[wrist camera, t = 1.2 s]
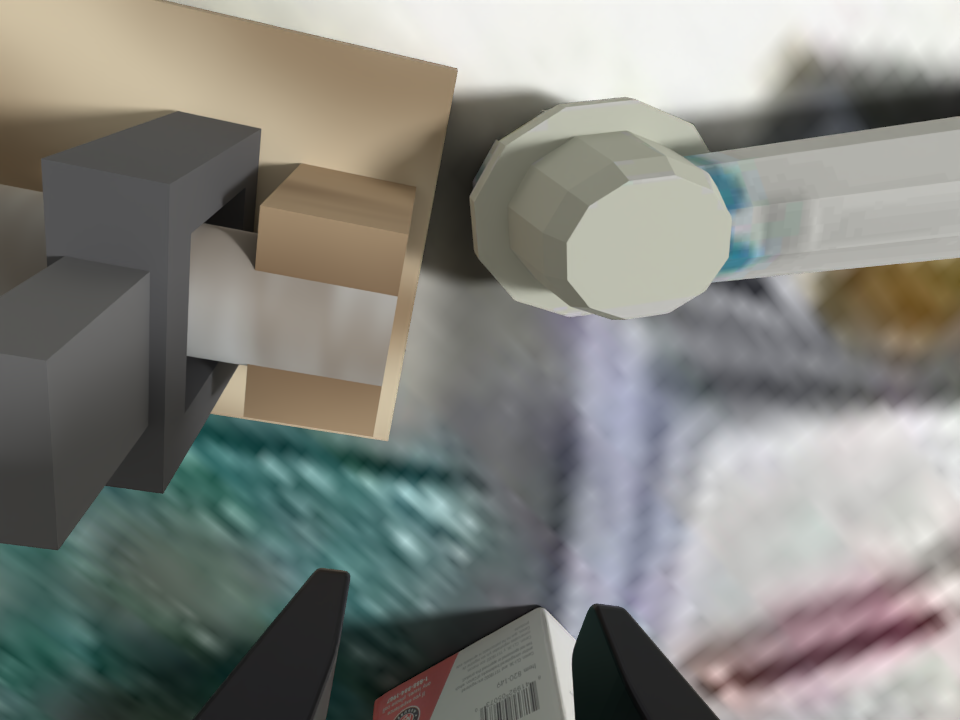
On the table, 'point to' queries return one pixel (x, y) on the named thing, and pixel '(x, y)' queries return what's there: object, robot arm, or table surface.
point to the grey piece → (700, 207)
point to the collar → (114, 320)
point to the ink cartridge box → (494, 678)
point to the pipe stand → (280, 187)
